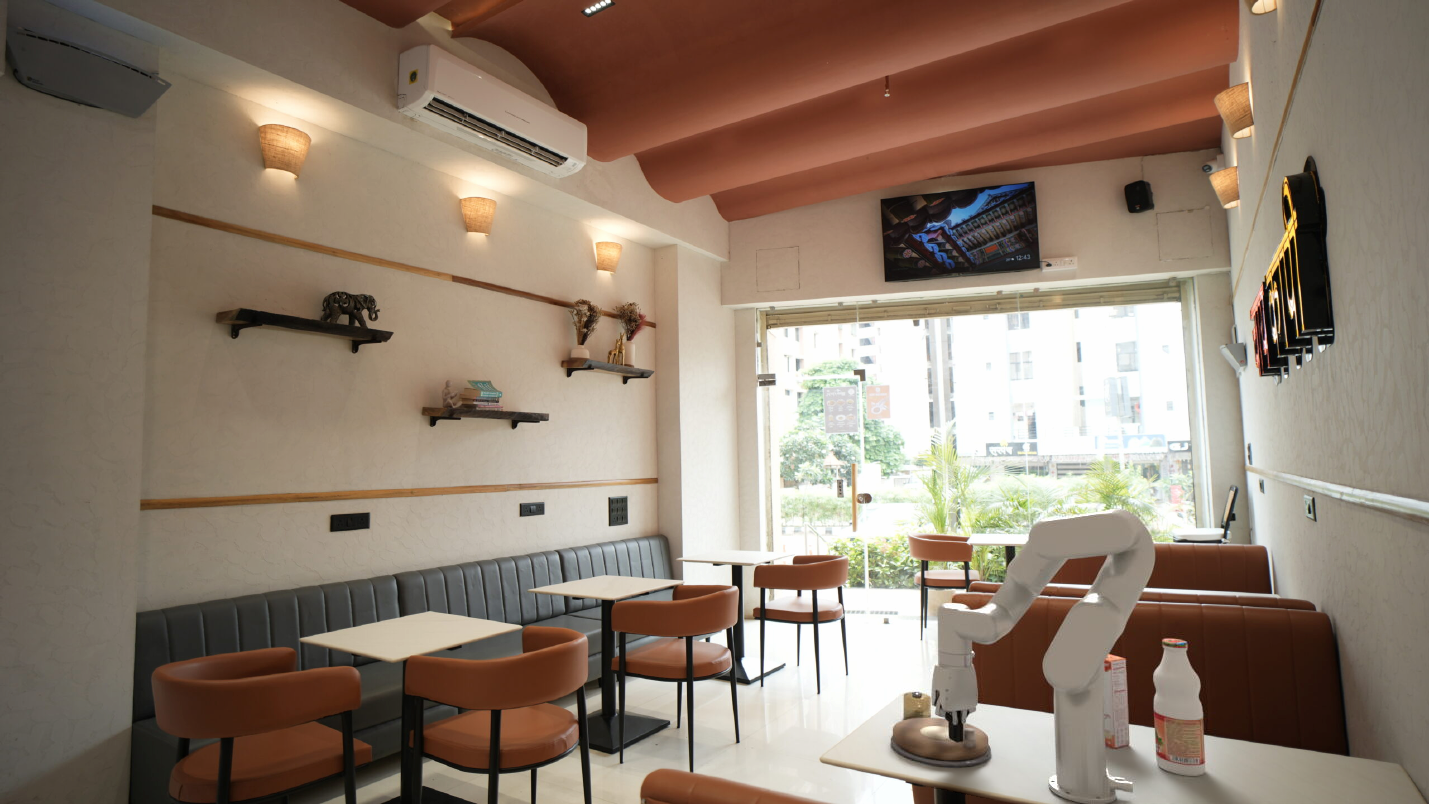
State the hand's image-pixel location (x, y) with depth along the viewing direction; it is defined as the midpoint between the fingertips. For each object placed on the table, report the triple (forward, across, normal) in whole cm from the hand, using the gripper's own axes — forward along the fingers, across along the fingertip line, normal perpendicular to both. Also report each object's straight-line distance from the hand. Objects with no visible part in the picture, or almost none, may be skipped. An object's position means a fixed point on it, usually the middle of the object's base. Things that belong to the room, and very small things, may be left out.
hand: (956, 739), depth 171 cm
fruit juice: (+4, -44, +21) cm, 49 cm away
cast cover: (+5, -9, -26) cm, 28 cm away
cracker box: (+5, -42, +1) cm, 42 cm away
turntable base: (+5, -2, -8) cm, 10 cm away
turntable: (+4, -2, -8) cm, 9 cm away
